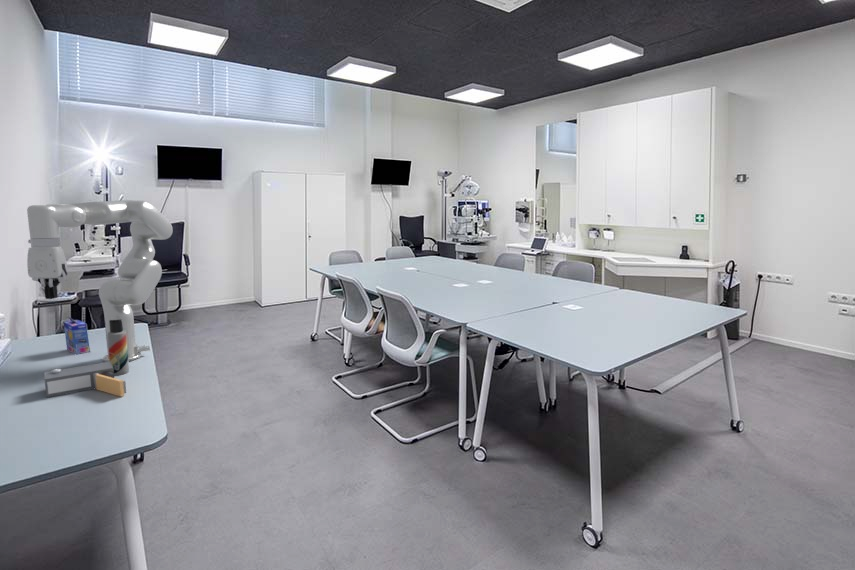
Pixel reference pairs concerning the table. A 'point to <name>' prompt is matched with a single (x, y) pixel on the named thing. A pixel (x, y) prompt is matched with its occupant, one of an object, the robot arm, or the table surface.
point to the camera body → (75, 378)
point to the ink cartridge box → (76, 336)
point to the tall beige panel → (109, 384)
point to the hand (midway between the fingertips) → (51, 298)
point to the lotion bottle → (118, 347)
